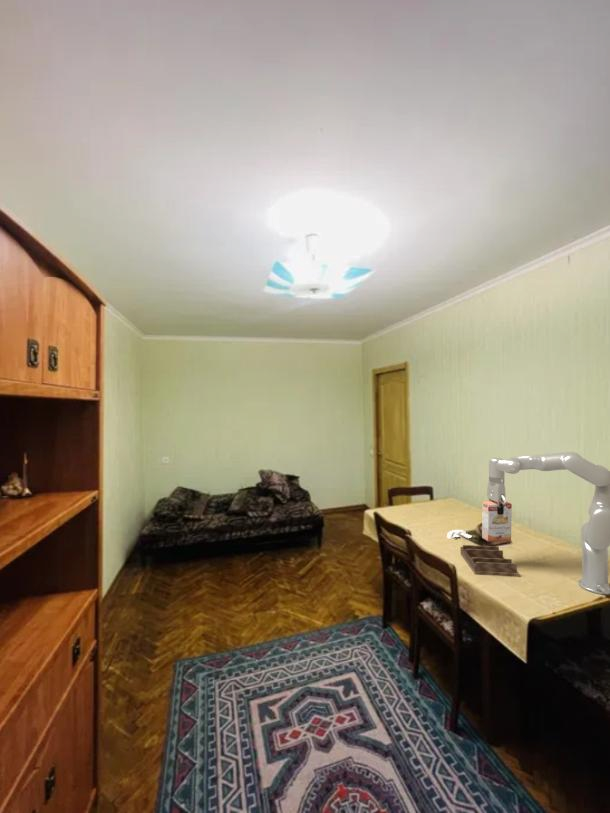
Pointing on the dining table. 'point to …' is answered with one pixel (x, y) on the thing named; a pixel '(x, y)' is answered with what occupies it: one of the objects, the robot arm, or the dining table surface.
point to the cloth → (454, 532)
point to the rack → (488, 561)
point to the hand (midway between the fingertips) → (496, 511)
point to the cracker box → (496, 522)
